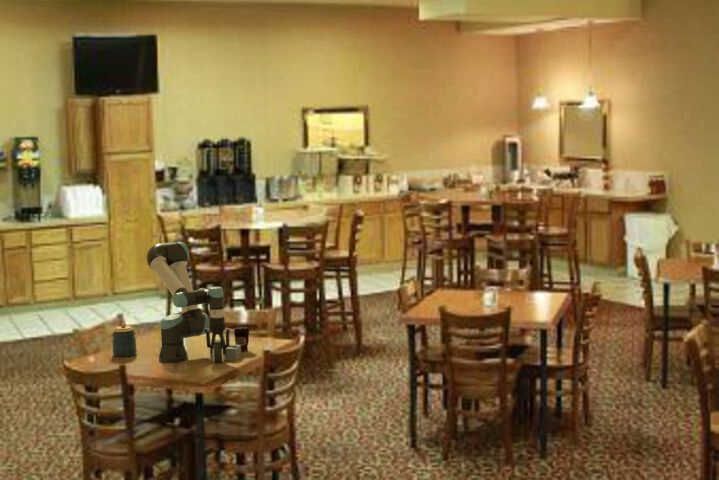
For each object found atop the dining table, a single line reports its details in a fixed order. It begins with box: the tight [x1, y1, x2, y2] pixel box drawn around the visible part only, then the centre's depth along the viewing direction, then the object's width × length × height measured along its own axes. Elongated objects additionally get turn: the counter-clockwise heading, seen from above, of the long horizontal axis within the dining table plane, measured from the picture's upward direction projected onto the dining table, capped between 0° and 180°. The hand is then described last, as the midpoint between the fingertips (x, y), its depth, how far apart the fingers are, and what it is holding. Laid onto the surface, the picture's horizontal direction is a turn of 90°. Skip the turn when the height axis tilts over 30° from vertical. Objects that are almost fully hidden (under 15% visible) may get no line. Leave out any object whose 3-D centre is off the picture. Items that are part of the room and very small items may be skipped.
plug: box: [214, 338, 224, 365], centre depth 526 cm, size 4×4×12 cm
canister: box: [111, 322, 138, 358], centre depth 549 cm, size 13×13×18 cm
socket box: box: [209, 344, 242, 361], centre depth 537 cm, size 14×10×6 cm
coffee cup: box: [233, 326, 250, 353], centre depth 551 cm, size 9×8×13 cm
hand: (218, 360), depth 526 cm, fingers open, 4 cm apart
